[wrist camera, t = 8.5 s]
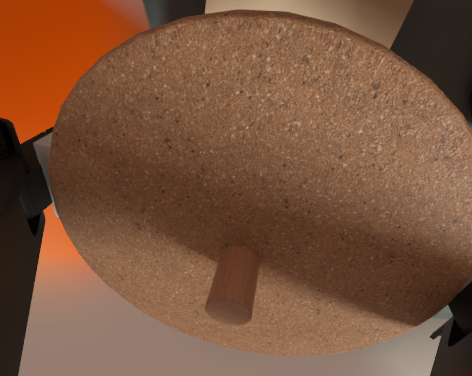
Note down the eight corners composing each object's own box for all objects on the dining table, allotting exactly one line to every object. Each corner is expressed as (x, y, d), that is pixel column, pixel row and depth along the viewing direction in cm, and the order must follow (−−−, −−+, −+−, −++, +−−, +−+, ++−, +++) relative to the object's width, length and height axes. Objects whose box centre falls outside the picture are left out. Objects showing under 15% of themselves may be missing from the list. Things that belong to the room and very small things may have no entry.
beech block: (228, -50, 23) (213, -59, 19) (396, -7, 22) (417, -6, 18) (205, 111, 31) (191, 129, 27) (326, 144, 31) (330, 168, 27)
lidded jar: (206, -61, 10) (-109, -235, 2) (456, 83, 11) (808, 294, 3) (143, 166, 16) (4, 320, 9) (304, 243, 17) (306, 440, 10)
